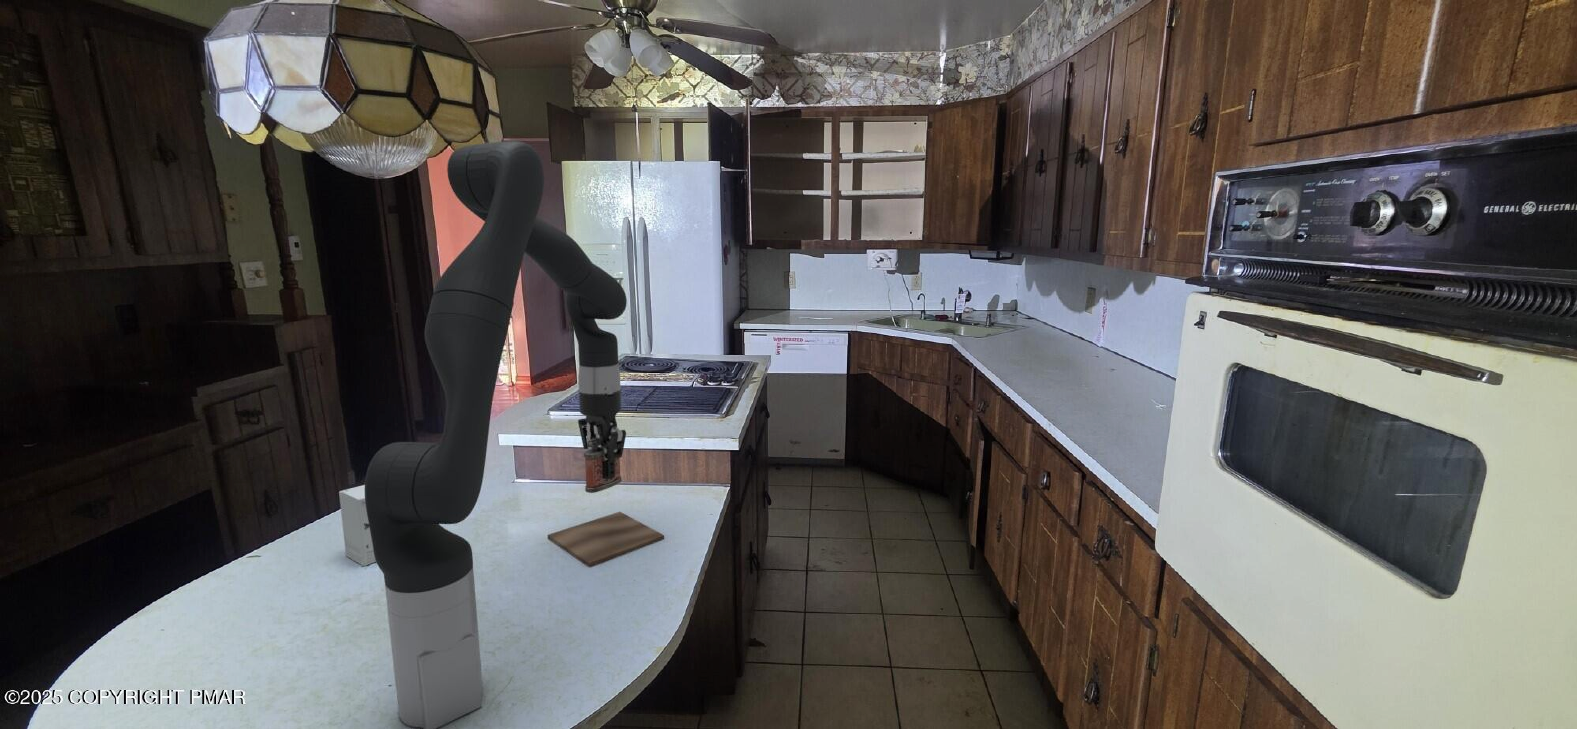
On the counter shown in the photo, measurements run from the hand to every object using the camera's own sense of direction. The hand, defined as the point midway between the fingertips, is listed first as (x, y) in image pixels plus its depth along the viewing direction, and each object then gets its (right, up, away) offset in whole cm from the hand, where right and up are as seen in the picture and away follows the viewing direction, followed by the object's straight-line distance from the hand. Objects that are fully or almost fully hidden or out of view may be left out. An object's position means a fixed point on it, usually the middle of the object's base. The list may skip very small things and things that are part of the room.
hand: (603, 475), depth 121 cm
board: (0, -13, +2) cm, 13 cm away
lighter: (0, -2, 0) cm, 2 cm away
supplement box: (-40, -14, -5) cm, 43 cm away
